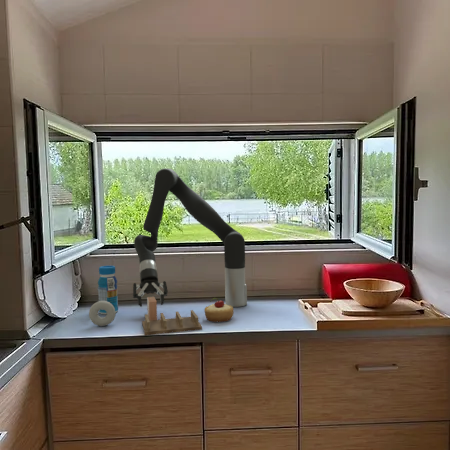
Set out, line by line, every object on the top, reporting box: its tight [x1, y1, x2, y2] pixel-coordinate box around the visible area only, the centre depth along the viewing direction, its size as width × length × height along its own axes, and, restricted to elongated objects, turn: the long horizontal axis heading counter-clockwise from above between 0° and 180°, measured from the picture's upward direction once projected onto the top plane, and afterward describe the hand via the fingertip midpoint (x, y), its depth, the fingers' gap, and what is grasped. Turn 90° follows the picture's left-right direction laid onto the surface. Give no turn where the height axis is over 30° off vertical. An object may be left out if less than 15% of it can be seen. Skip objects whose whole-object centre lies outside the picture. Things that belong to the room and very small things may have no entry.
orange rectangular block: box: [146, 296, 158, 320], centre depth 169 cm, size 3×9×8 cm, turn 15°
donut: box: [88, 300, 117, 327], centre depth 159 cm, size 10×3×10 cm, turn 99°
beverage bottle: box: [97, 265, 119, 315], centre depth 179 cm, size 8×8×20 cm
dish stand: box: [141, 309, 203, 336], centre depth 157 cm, size 21×14×4 cm, turn 105°
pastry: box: [204, 297, 235, 323], centre depth 165 cm, size 12×12×9 cm
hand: (151, 304), depth 169 cm, fingers open, 8 cm apart
